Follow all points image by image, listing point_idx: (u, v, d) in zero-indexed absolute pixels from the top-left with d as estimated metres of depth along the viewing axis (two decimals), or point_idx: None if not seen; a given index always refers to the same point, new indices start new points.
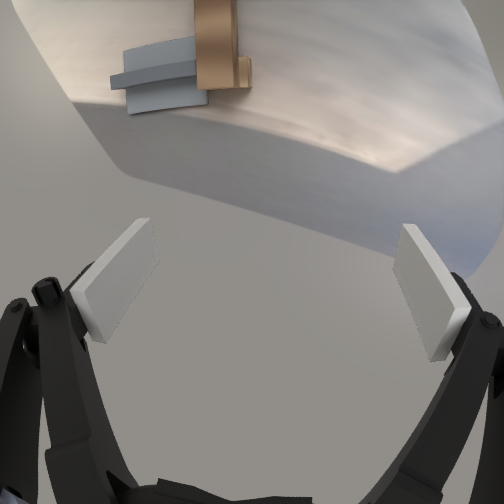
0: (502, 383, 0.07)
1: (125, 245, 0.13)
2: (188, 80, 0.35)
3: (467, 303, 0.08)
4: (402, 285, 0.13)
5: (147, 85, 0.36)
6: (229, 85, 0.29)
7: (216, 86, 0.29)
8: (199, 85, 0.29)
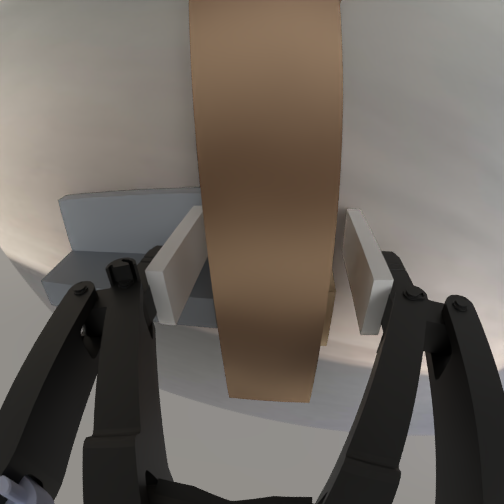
0: (442, 361, 0.09)
1: (190, 229, 0.14)
2: None
3: (389, 276, 0.10)
4: (346, 266, 0.15)
5: None
6: (301, 400, 0.13)
7: (271, 399, 0.14)
8: (233, 393, 0.14)
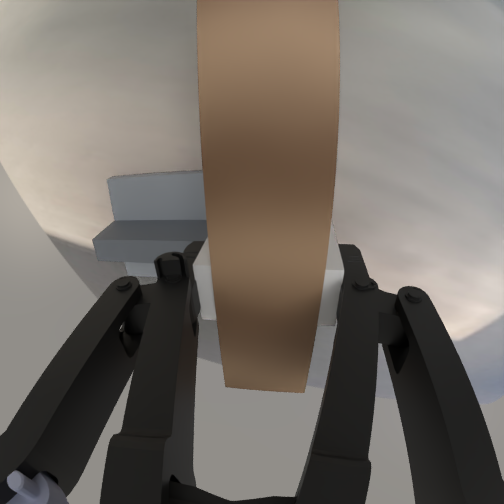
0: (401, 354, 0.09)
1: None
2: None
3: (340, 266, 0.11)
4: None
5: None
6: (296, 390, 0.14)
7: (267, 388, 0.14)
8: (229, 382, 0.14)
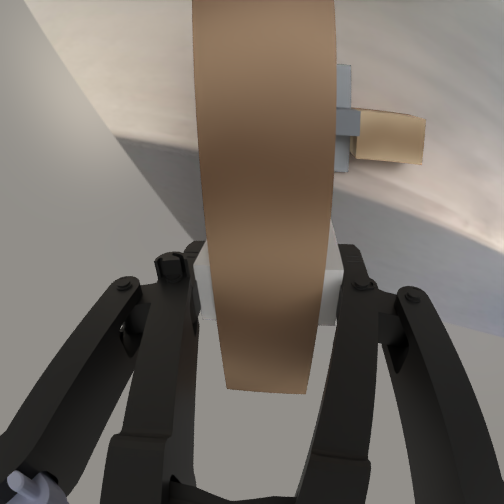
0: (400, 354, 0.09)
1: None
2: None
3: (340, 266, 0.11)
4: None
5: None
6: (297, 392, 0.14)
7: (268, 390, 0.14)
8: (230, 384, 0.14)
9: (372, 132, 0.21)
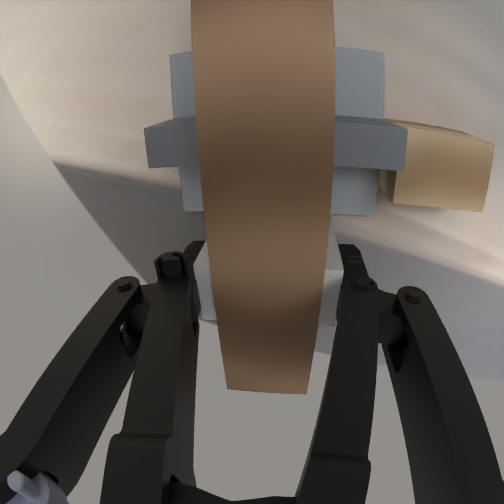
0: (400, 354, 0.09)
1: None
2: None
3: (340, 266, 0.11)
4: None
5: None
6: (298, 392, 0.14)
7: (269, 390, 0.14)
8: (231, 384, 0.14)
9: (421, 163, 0.13)
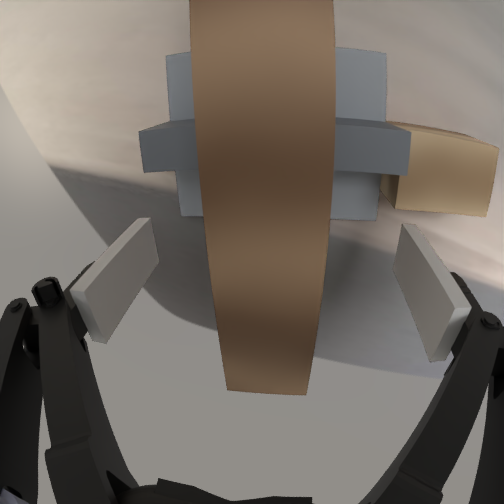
0: (502, 383, 0.07)
1: (125, 245, 0.13)
2: None
3: (467, 303, 0.08)
4: (402, 285, 0.13)
5: None
6: (297, 393, 0.14)
7: (269, 391, 0.14)
8: (231, 385, 0.14)
9: (424, 167, 0.12)
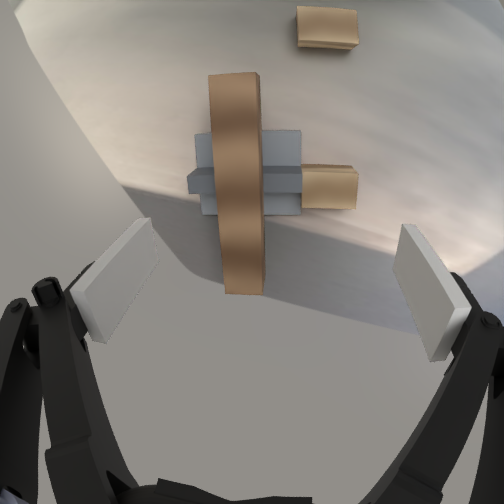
0: (502, 383, 0.07)
1: (125, 245, 0.13)
2: None
3: (467, 303, 0.08)
4: (402, 285, 0.13)
5: None
6: (258, 293, 0.32)
7: (245, 293, 0.32)
8: (227, 290, 0.32)
9: (314, 187, 0.31)
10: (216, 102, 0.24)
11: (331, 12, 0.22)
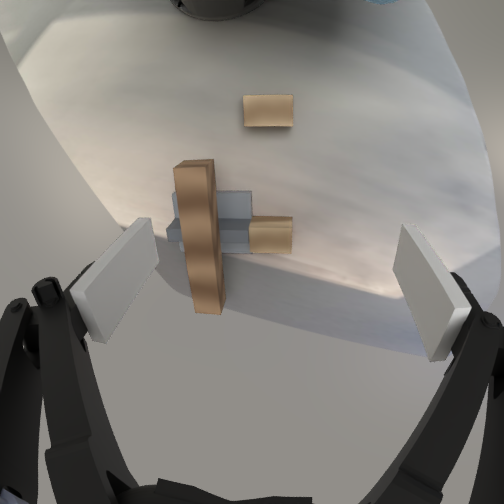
0: (502, 383, 0.07)
1: (125, 245, 0.13)
2: None
3: (467, 303, 0.08)
4: (402, 285, 0.13)
5: None
6: (217, 313, 0.45)
7: (208, 312, 0.45)
8: (196, 310, 0.45)
9: (258, 238, 0.43)
10: (179, 188, 0.35)
11: (271, 99, 0.33)
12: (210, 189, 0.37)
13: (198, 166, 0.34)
